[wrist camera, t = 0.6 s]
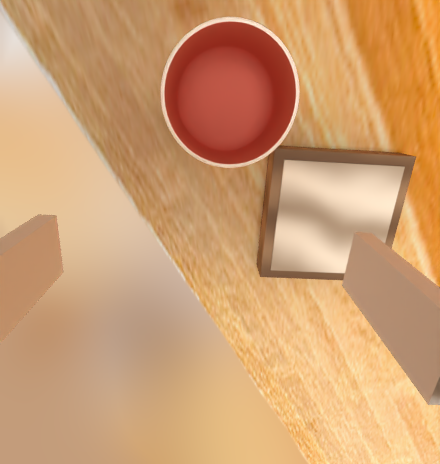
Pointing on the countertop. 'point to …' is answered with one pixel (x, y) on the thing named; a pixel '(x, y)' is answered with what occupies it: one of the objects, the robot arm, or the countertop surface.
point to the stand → (327, 207)
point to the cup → (230, 92)
